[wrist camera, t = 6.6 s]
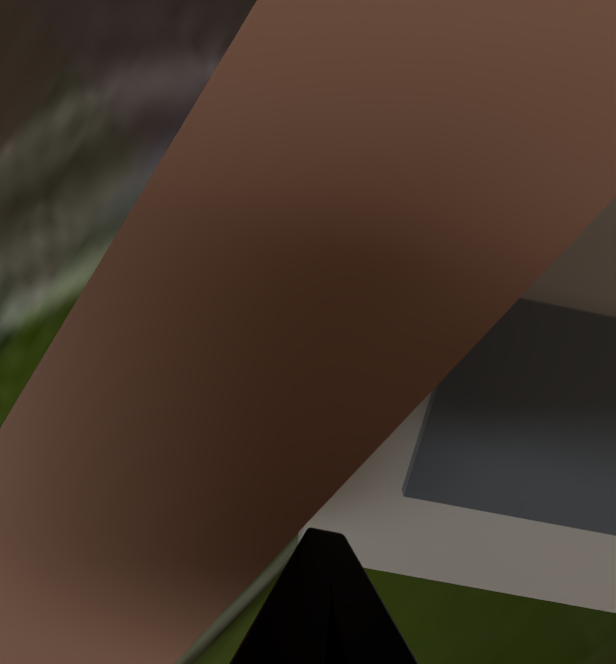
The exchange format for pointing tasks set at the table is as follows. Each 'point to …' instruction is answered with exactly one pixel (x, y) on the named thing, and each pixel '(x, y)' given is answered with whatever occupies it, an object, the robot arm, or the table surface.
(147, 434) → the cable arm
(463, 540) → the panel
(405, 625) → the table surface
